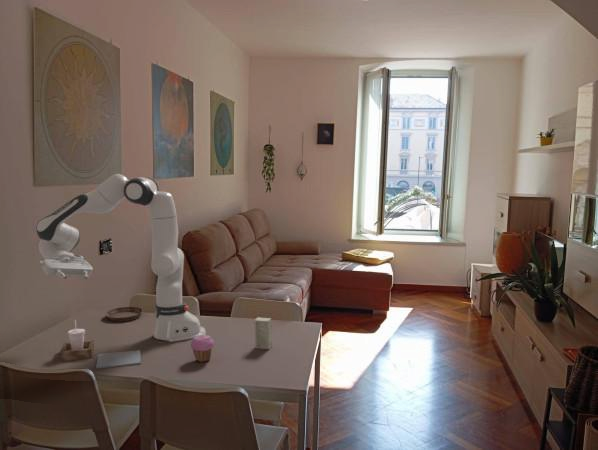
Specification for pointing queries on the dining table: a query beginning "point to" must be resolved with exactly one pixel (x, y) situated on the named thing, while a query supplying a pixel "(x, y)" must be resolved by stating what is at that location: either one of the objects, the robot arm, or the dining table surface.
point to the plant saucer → (124, 313)
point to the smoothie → (76, 338)
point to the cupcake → (202, 347)
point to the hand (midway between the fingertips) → (75, 277)
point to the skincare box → (263, 333)
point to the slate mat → (118, 359)
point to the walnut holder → (77, 351)
